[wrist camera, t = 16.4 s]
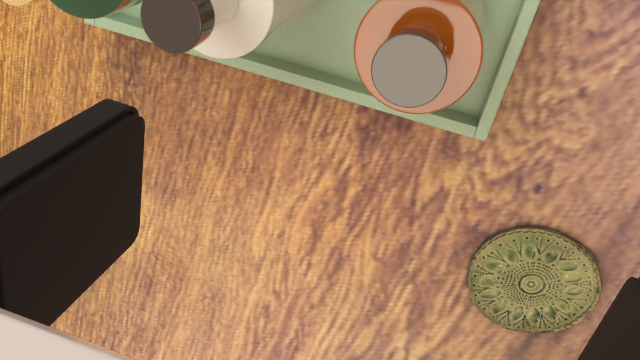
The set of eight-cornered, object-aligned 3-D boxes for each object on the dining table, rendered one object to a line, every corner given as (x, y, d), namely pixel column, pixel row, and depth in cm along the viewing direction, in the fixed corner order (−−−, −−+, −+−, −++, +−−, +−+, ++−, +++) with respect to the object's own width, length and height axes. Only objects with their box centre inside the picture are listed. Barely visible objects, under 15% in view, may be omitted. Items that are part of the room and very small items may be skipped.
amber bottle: (501, -27, 29) (503, 21, 20) (467, 71, 32) (455, 154, 22) (400, -52, 30) (356, -19, 20) (375, 45, 32) (326, 115, 23)
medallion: (453, 236, 37) (453, 243, 37) (588, 215, 34) (590, 222, 34) (483, 335, 40) (483, 342, 39) (609, 323, 37) (611, 331, 36)
